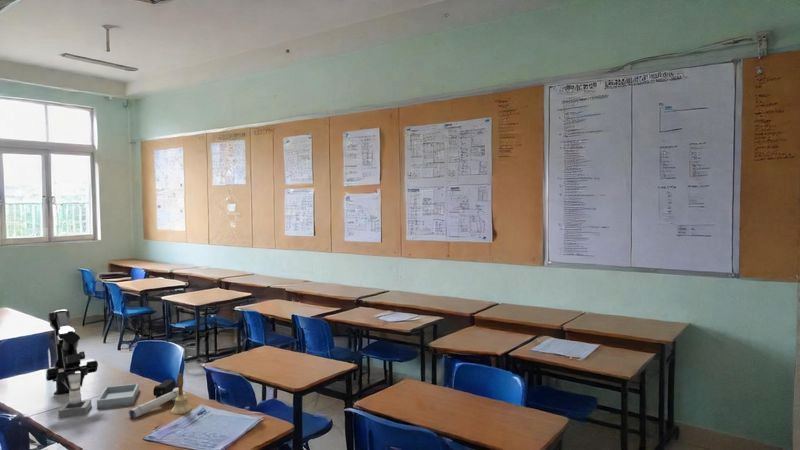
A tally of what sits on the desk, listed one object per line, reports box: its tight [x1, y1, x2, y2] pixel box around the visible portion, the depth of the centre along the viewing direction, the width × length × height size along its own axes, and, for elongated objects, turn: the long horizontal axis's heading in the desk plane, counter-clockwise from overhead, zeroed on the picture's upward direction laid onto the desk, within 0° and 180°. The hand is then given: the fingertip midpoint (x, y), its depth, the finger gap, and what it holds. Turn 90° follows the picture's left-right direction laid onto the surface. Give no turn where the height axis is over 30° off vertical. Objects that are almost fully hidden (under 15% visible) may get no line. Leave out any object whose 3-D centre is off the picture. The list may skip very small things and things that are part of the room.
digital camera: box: [152, 379, 176, 399], centre depth 236 cm, size 10×5×7 cm, turn 1°
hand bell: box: [170, 373, 192, 415], centre depth 222 cm, size 8×8×16 cm
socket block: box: [57, 399, 92, 419], centre depth 221 cm, size 10×10×3 cm
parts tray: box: [96, 383, 140, 409], centre depth 235 cm, size 18×14×4 cm
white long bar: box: [128, 386, 186, 419], centre depth 224 cm, size 5×7×25 cm
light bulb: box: [68, 372, 82, 404], centre depth 220 cm, size 4×4×12 cm
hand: (75, 387), depth 219 cm, fingers closed on light bulb, 4 cm apart
